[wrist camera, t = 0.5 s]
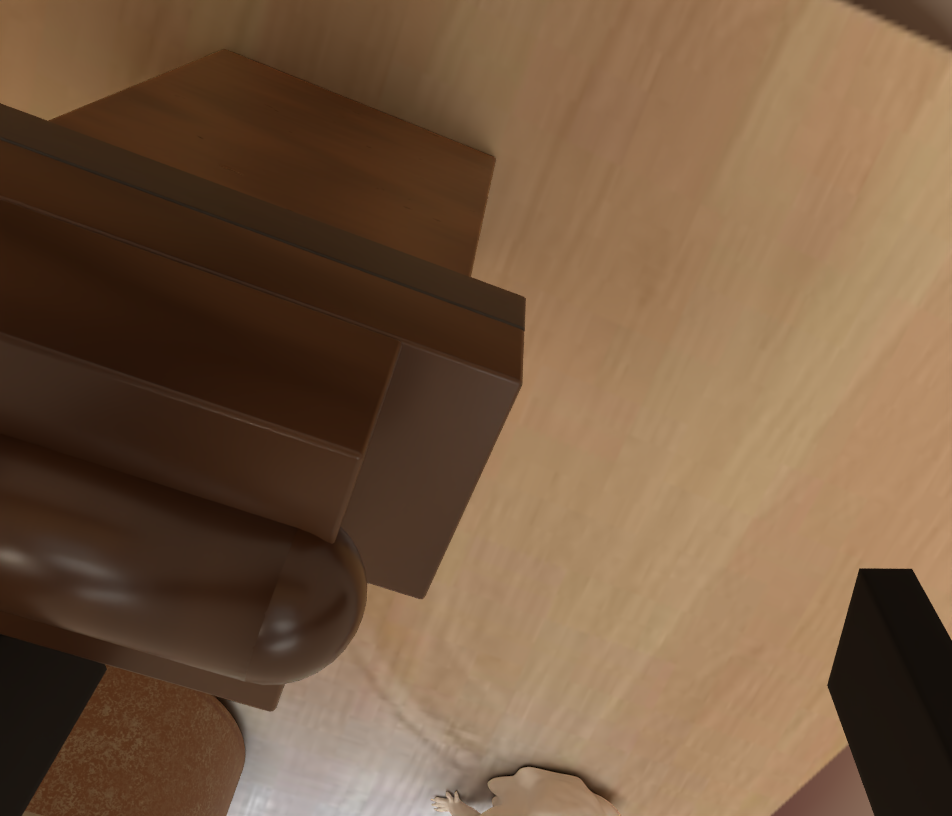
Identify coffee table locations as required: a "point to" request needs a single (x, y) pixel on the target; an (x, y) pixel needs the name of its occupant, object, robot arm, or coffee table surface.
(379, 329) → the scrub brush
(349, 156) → the wooden block
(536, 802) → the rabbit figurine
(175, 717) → the planter
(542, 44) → the coffee table surface
